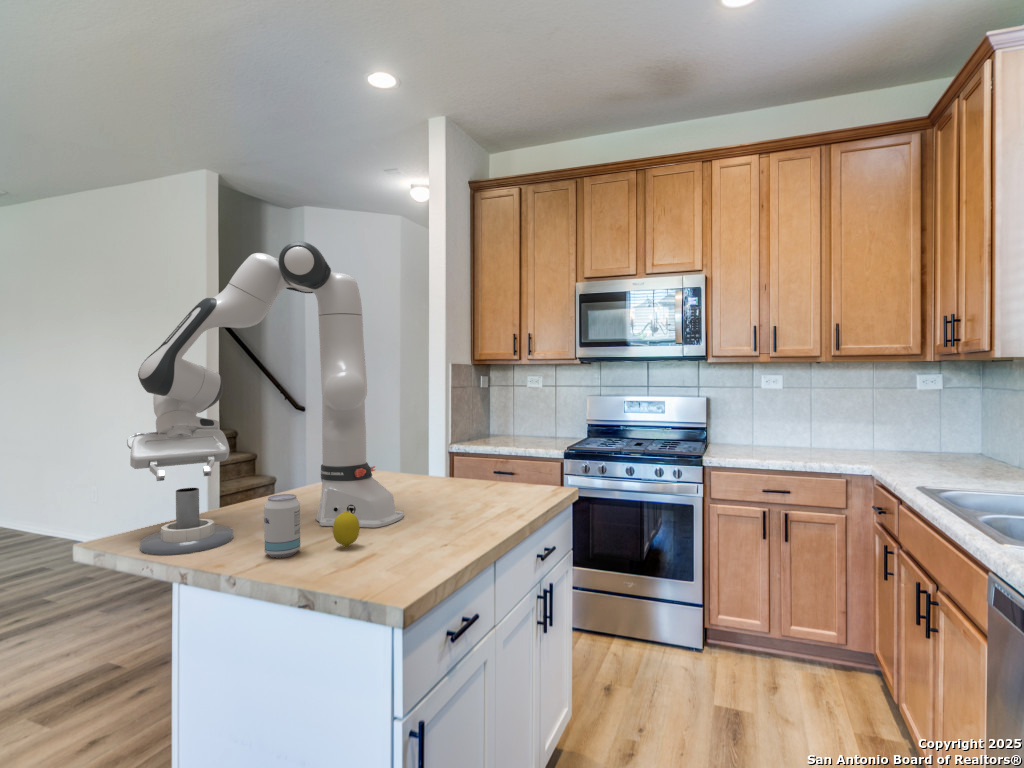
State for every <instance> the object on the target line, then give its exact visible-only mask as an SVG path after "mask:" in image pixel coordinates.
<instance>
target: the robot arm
mask: <svg viewBox="0 0 1024 768" xmlns="http://www.w3.org/2000/svg"><path fill="white" fill-rule="evenodd" d="M358 285H359V284H358V283H357V280H356V279H355V278H354V277H352V276H351V275H349V274H347V273H342V272H334V271H332V268H331V267H330V265H329V264H328V262H327V260H326V258H325V257H324V256H323V254H322V253H321V251H320V250H319V249H318V248H317V247H316V246H315V245H313V244H311V243H308V242H306V241H293V242H290V243H288V244H286V245H285V246H284V247H283V248H282V249H281V251H280V253H279V256H278V258H277V257H274V256H272V255H270V254H268V253H262V252H256V253H252V254H250V255H249V256H248V257H247V258H246V259H245V260H244V261H243V262H242V264H240V266H239V267H238V269H237V270H236V271H235V272H234V274H233V276H232V277H231V278H230V280H229V281H228V284H227V285H226V286H225V288H224V289H223V290H222V291H220V292H219V293H218V294H216V295H215V296H213V297H206V298H204V299H202V300H201V301H199V302H198V303H197V304H196V305H194V307H193V308H192V309H191V310H190V311H189V312H188V314H187V315H186V316H185V317H184V318H183V319H182V321H181V322H180V323H179V324H177V326H176V327H175V329H173V331H172V332H171V333H170V334H169V335H168V337H166V338H165V340H164V341H163V342H162V343H161V344H160V346H158V348H156V349H155V350H154V351H153V352H152V353H151V354H150V355H148V356H147V357H146V359H144V361H143V362H142V363H141V365H140V367H139V369H138V373H137V376H138V380H139V383H140V385H141V386H142V388H143V389H144V390H145V391H146V392H147V393H148V394H151V395H153V396H152V397H153V403H152V404H153V411H154V415H155V417H156V420H155V429H156V431H154V432H152V431H151V432H144V433H143V432H136V433H134V435H133V434H132V435H130V436H129V437H128V438H127V439H126V444H127V445H126V446H127V447H128V448H129V449H130V458H129V459H130V462H129V464H130V467H131V468H132V469H134V470H140V469H149V472H151V474H152V475H154V476H155V477H156V482H161V481H165V478H166V477H165V476H166V475H165V470H163V469H162V470H160V468H163V467H173V466H174V467H175V466H183V465H184V466H185V465H195V464H206V465H207V466H206V465H205V466H203V468H202V469H203V470H202V473H203V477H211V476H212V469H213V467H214V466H215V465H214V464H215V463H218V462H225V461H226V460H227V459H228V458H229V457H230V445H229V442H228V439H227V437H226V434H225V433H224V432H223V430H222V429H220V422H219V421H218V420H216V419H211V418H204V417H200V416H197V414H200V413H202V412H204V411H206V410H207V409H210V407H212V406H214V405H216V404H217V403H218V401H219V400H220V399H221V398H222V396H223V390H224V384H223V379H222V376H221V375H220V373H219V372H217V371H214V370H212V369H210V368H207V367H205V366H202V365H199V364H196V363H193V362H191V361H188V360H186V359H184V358H183V356H184V355H185V354H186V353H187V352H188V350H190V348H191V347H192V346H193V345H194V344H195V342H197V340H198V339H199V337H201V336H202V334H203V333H205V332H206V331H207V330H211V329H215V328H233V329H244V328H250V327H253V326H256V325H258V324H259V323H261V322H262V321H263V320H264V319H265V317H266V316H267V314H268V312H269V311H270V309H271V307H272V305H273V304H274V302H275V300H276V298H277V297H278V296H279V294H280V293H281V291H283V290H284V289H287V290H290V291H293V292H294V291H295V292H298V293H303V294H313V295H315V297H316V301H317V310H318V311H317V313H318V331H319V332H318V334H319V335H318V336H319V337H318V338H319V355H320V356H319V357H320V378H321V379H320V384H321V396H322V397H321V399H322V400H321V401H322V402H321V403H322V409H321V411H322V413H321V414H322V417H321V418H322V419H321V420H322V423H321V424H322V430H321V433H322V434H321V436H322V437H321V439H322V441H321V443H322V453H321V454H322V464H321V465H320V480H321V483H322V484H321V492H320V493H321V494H320V503H319V507H318V511H317V515H316V518H315V519H316V521H318V522H319V526H321V527H333V525H334V521H335V519H336V518H337V516H338V515H340V514H341V513H344V511H348V512H350V513H352V514H354V515H355V516H356V517H357V519H358V522H359V528H374V529H375V528H381V527H385V526H389V525H392V524H394V523H397V522H398V521H400V520H402V519H403V518H404V516H405V514H404V511H402V510H397V509H396V503H395V499H394V496H393V493H392V492H391V491H390V490H388V489H387V488H386V487H385V486H384V485H382V483H379V481H378V480H376V479H375V478H374V477H373V473H372V472H374V471H376V469H375V468H376V466H375V465H374V466H370V465H369V463H368V462H367V426H366V407H365V406H366V403H365V401H366V398H367V396H368V383H367V370H366V369H367V367H366V358H365V357H366V356H365V355H366V354H365V343H364V323H363V322H364V321H363V319H364V318H363V307H362V299H361V293H360V289H359V286H358Z"/></svg>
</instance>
